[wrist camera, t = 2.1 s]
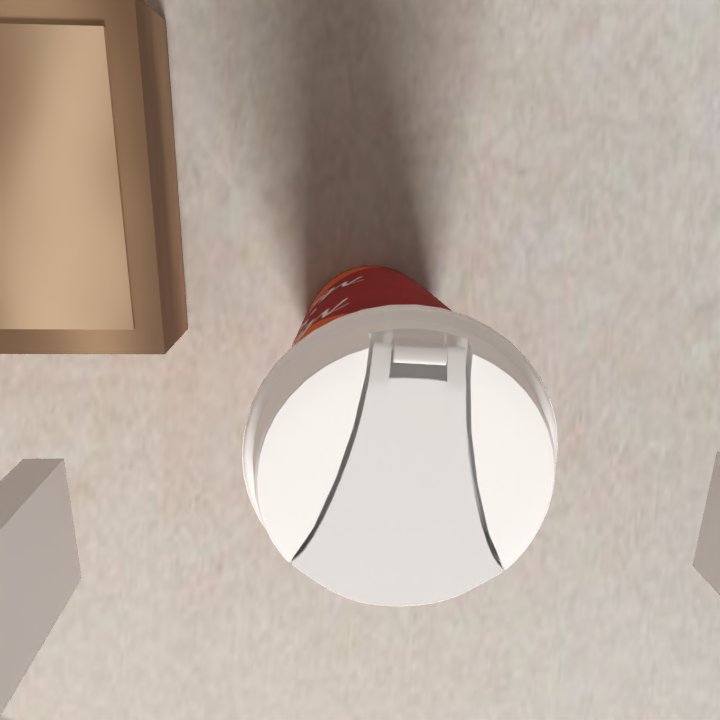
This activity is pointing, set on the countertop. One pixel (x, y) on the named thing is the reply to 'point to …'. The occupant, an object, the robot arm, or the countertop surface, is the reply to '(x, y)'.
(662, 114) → the countertop surface
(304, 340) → the paper cup
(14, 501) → the robot arm
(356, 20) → the countertop surface
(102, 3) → the plinth
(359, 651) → the countertop surface
